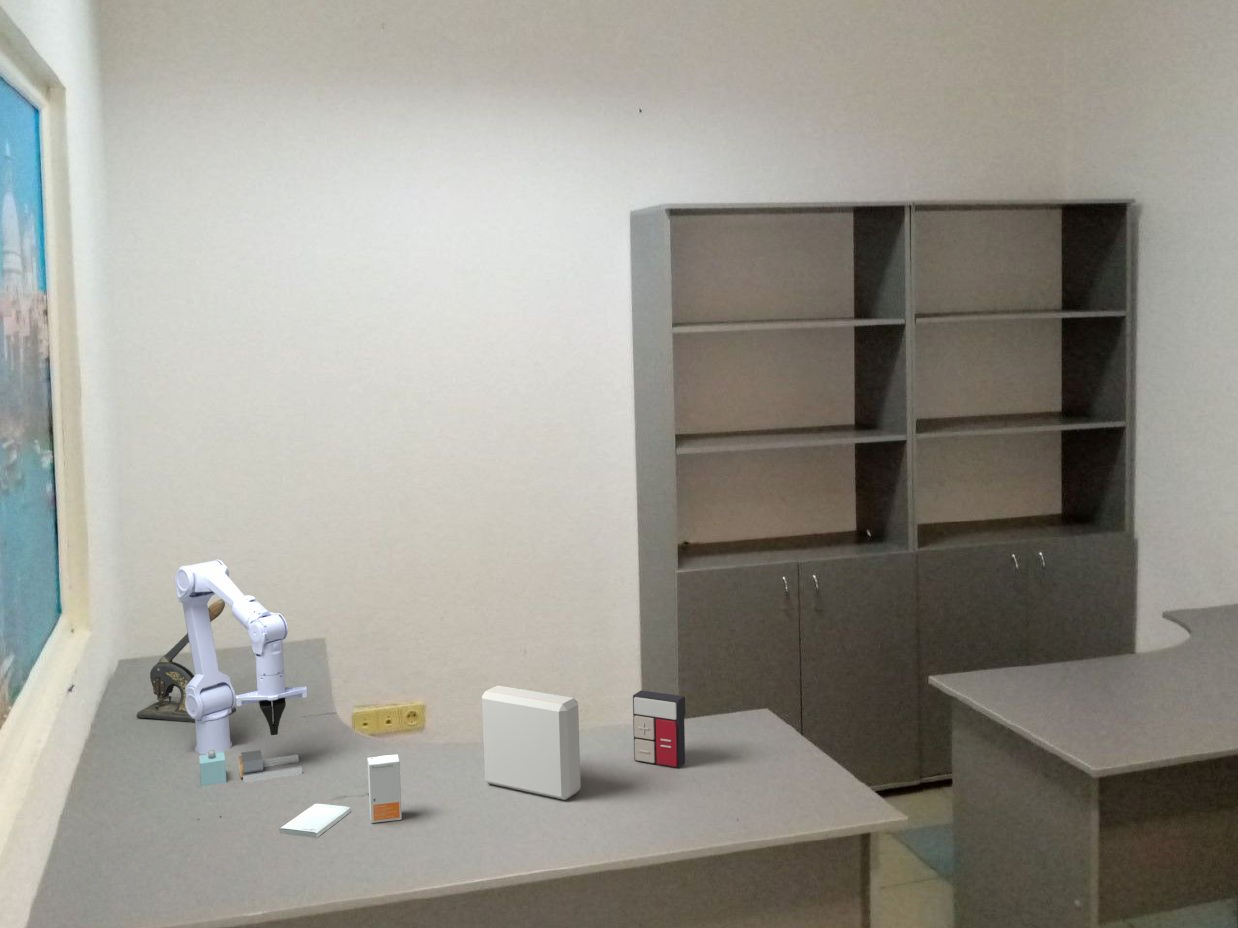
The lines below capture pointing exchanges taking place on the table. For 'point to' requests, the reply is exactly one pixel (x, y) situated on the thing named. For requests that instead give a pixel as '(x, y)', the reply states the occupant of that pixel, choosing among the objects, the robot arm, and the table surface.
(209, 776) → the block
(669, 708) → the calculator
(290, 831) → the hard drive
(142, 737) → the table surface
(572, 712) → the bevelled white case
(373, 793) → the skincare box
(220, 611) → the embossing press
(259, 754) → the block
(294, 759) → the frame
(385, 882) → the table surface
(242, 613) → the robot arm
